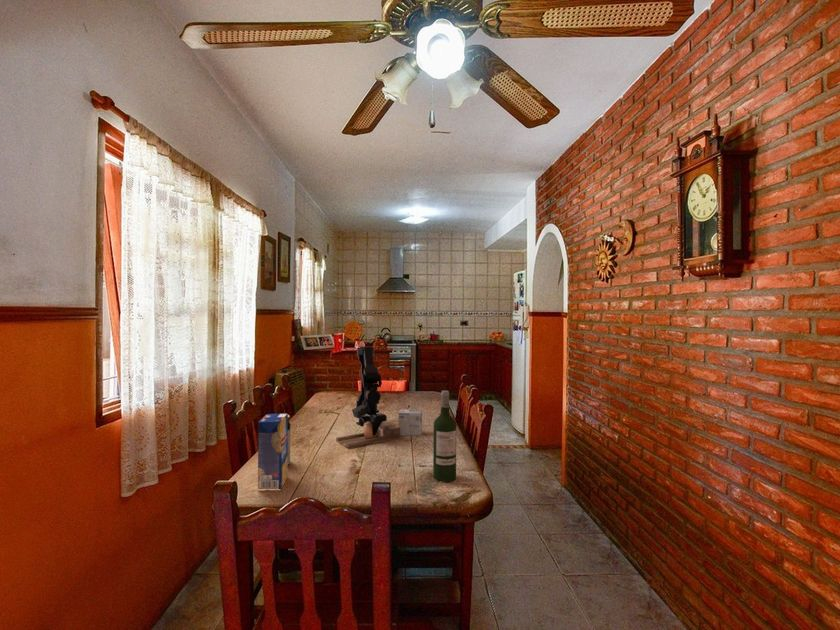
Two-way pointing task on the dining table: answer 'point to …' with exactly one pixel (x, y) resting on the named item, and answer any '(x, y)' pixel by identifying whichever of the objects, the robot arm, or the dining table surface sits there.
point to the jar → (368, 430)
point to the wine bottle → (444, 443)
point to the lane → (359, 440)
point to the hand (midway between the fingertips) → (370, 433)
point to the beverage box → (272, 451)
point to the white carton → (410, 422)
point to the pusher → (380, 432)
